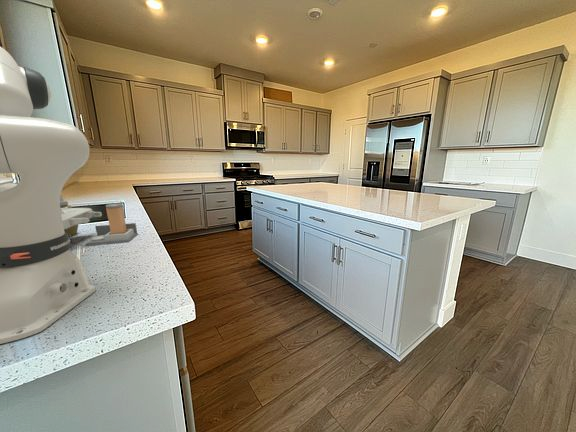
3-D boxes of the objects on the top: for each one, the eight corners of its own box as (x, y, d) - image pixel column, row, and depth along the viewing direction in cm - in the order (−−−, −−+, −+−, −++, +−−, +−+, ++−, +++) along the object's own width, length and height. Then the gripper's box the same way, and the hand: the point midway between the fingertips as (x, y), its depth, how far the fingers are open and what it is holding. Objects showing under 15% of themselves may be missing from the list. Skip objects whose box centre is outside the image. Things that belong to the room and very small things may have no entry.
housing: (128, 242, 91) (126, 229, 90) (85, 246, 88) (82, 232, 86) (137, 234, 101) (135, 223, 99) (98, 237, 97) (96, 225, 96)
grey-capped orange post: (125, 238, 93) (119, 205, 90) (109, 239, 91) (103, 206, 88) (129, 234, 97) (124, 203, 94) (115, 235, 96) (109, 203, 93)
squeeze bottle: (68, 238, 97) (57, 194, 93) (48, 238, 97) (37, 194, 93) (85, 232, 105) (76, 191, 100) (67, 232, 105) (57, 191, 101)
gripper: (26, 218, 77) (77, 215, 80) (65, 206, 96) (105, 204, 99) (31, 236, 78) (81, 233, 82) (69, 221, 97) (108, 218, 101)
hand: (94, 217), depth 91 cm, fingers open, 8 cm apart
